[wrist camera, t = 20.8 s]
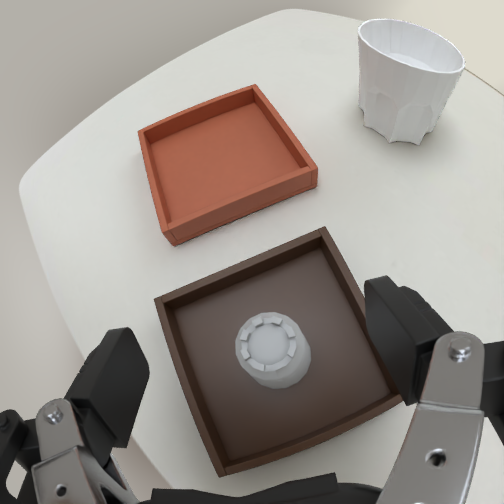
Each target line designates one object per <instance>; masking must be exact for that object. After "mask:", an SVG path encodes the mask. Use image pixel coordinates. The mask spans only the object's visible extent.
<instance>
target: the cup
mask: <svg viewBox="0 0 504 504" xmlns="http://www.w3.org/2000/svg"><path fill="white" fill-rule="evenodd" d="M358 44H359V68H360V75H359V105H358V106H359V107H360V108H361V109H362V110H363V112H364V116H365V117H364V126H366V127H369V128H372V129H374V130H375V131H377V132H378V133H380V134H381V135H383V136H384V137H385V138H386V139H387V140H388V142H389V143H392V142H395V141H403V142H412V143H414V144H417V145H419V144H420V142H421V140H422V138H423V136H424V135H425V134H426V133H428V132H432V131H433V129H434V127H435V125H436V123H437V121H438V119H439V117H440V115H441V113H442V111H443V109H444V107H445V104H446V102H447V100H448V99H449V97H450V95H451V93H452V91H453V90H454V88H455V86H456V84H457V82H458V80H459V78H460V76H461V74H462V72H463V70H464V68H465V60H464V57H463V55H462V54H461V52H460V51H459V50H458V49H457V48H456V47H455V46H454V45H453V44H452V43H451V42H450V41H448V40H446V39H445V38H444V37H442V36H441V35H439V34H437V33H435V32H433V31H431V30H429V29H427V28H424V27H422V26H419V25H416V24H413V23H409V22H405V21H401V20H395V19H373V20H369V21H366V22H363V23H362V24H361V25H360V26H359V28H358Z"/></svg>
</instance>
